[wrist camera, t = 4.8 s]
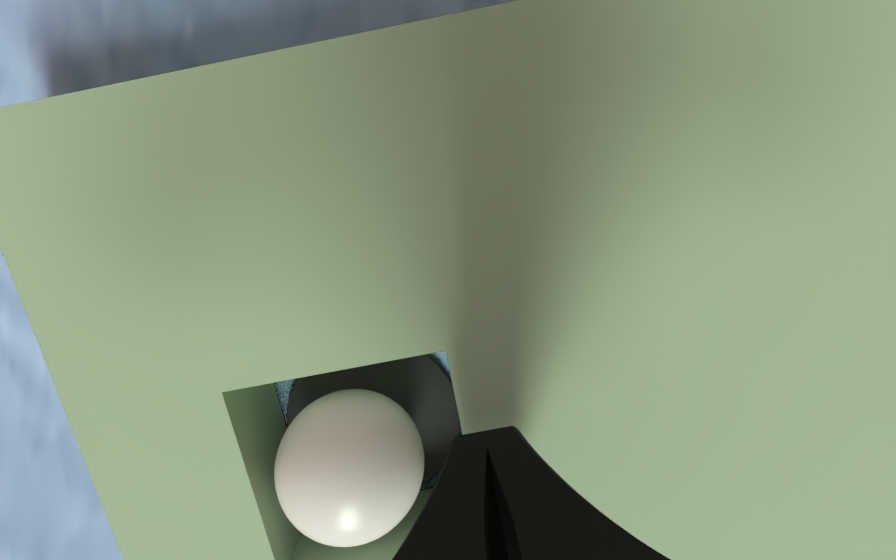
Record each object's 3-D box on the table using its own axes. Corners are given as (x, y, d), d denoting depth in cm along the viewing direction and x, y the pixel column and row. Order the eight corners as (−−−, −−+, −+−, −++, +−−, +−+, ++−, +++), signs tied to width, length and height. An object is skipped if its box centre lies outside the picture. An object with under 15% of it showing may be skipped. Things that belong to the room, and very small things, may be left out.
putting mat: (873, -35, 11) (1000, -101, 8) (875, 597, 14) (964, 681, 12) (55, 132, 11) (-51, 117, 9) (255, 700, 15) (218, 802, 12)
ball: (266, 386, 12) (397, 349, 12) (307, 491, 13) (426, 453, 13) (235, 477, 9) (415, 422, 9) (293, 607, 10) (450, 553, 10)
